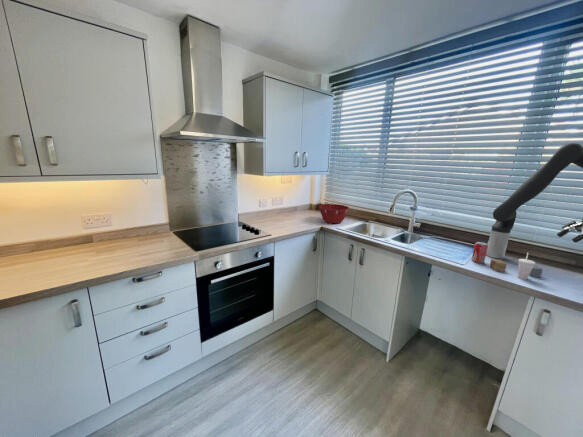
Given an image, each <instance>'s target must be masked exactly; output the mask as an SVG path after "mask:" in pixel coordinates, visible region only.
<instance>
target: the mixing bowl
mask: <svg viewBox="0 0 583 437" xmlns="http://www.w3.org/2000/svg"><path fill="white" fill-rule="evenodd" d="M318 206H319V211H320V215H321V217H322V219H323V221H324V222H326V223H327V222H328V223H327V224H331V223H338V224H340V223H342V222H343V221H344V220H345V218H346V217H347V214H348V212H349V209H350V207H349V206H347V205H343V204H335V203H328V204H327V203H325V204H321V205H318Z"/></svg>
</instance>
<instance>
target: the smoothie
mask: <svg viewBox="0 0 583 437" xmlns="http://www.w3.org/2000/svg"><path fill="white" fill-rule="evenodd" d="M528 258H529V252H527V253H526V257H525V258H519V259H518V269H517V270H518V271H517V278H519V279H521V280H528V278H529V277H530V276H529V274H530V272H531V270H532V268H533V266H534V265H536V262H535V261H533V260H532V259H531V260H530V259H528Z"/></svg>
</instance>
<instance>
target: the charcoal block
mask: <svg viewBox="0 0 583 437" xmlns="http://www.w3.org/2000/svg"><path fill="white" fill-rule="evenodd" d="M543 270H544V268H542V267H540V266H538V265H537V264H535V265H534V266H533V268H532V270H531V272H530V274H529V276H528V277H532V278H533V277H534V278H541V277H542V276H541V275H542V273H543Z"/></svg>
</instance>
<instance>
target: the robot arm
mask: <svg viewBox="0 0 583 437" xmlns="http://www.w3.org/2000/svg"><path fill="white" fill-rule="evenodd" d="M571 164H573V165H576V166H578V167H579V168H581V169H583V146H582V144H580V143H574V142H573V143H572V142H570V143H567V144H564V145H562V146H559V148H558V149H557V150H556V151H555V153H554V154H553V155H552V156H551V157H550V159H549V160H548V161H547V162H546V163H545V164H544V165H543V166H541V168H539V169H538V170H536V171H534V173H533V174H532V175H530V177H528V178H527V179H525V181H524V182H523V183H522V184H521V185H519V187H518V188H517V189H515V191H514V192H513V193H512V194H511V195H510V196H509V197H508V198H507V199H506V200H505V201H503V203H501V204H500V205H499V206H497V207H495V209H494V210H493V212H492V216H493V219H494V220H495V223H493V224H492V226H491V230H490V234H489V239H488V242H487V243H486V244H487V246H488V248H487V252H486V256H487V257H489V258H491V259H496V260H503V259H505V254H506V252H507V247H508V244H509V240H510V235H511V231H512V229H513V228H514V226H515V222H516V218H517V210H518V209H519V208H520V207H521V206H523V205H525V204H526V203H528V202H529V201H530V200H533V199H535V198H536V197H537V196H538V195H540V194H541V193H542V192H543V191H544V190H545V189H546V188H547V187H549V186H550V185H551V183H552V182H553V181H554V180H555V178H556V177H557V176H558V174H560V173H561V172H562V171H563V170H565V169H566V168H568V166H569V165H571ZM561 229H562V230H561V231H559V232H557V234H556V235H557V236H558V238H562V237H564V236H566V235H567V234H569V233H577V232H578V233H579V234H578V235H576V236H574V237H572V238H571V241H572V242H573V243H579V242H580V241H582V240H583V218H582V220H581V221H578V222H577V221H576V220H572V221H570V222H568V223H566V224H564V225H562V226H561Z"/></svg>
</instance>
